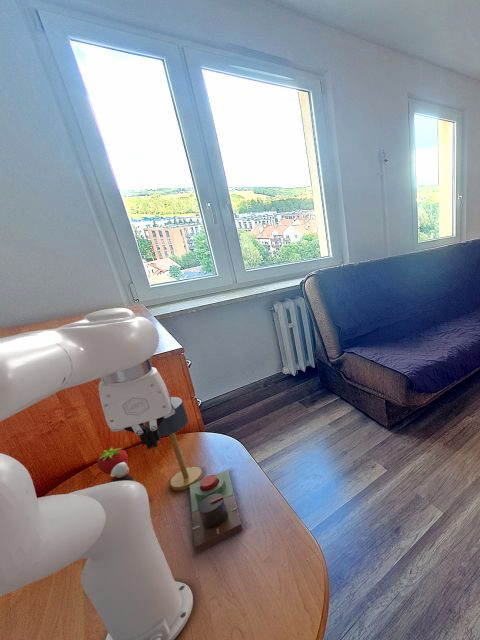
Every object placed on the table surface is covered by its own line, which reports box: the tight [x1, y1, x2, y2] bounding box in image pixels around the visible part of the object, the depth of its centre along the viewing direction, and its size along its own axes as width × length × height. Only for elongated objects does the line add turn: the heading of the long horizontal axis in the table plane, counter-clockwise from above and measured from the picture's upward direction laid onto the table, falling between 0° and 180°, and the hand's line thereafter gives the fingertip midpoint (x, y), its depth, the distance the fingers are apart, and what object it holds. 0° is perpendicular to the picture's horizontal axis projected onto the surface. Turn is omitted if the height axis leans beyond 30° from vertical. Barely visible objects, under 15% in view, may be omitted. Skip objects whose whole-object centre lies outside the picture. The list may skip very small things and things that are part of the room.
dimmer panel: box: [190, 494, 244, 554], centre depth 78 cm, size 10×9×2 cm
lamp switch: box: [200, 474, 218, 491], centre depth 85 cm, size 4×4×2 cm
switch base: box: [189, 469, 236, 514], centre depth 86 cm, size 10×9×3 cm
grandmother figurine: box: [109, 462, 135, 482], centre depth 81 cm, size 8×4×13 cm, turn 84°
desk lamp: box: [144, 396, 203, 491], centre depth 86 cm, size 8×8×24 cm
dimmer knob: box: [198, 494, 228, 528], centre depth 77 cm, size 5×5×5 cm
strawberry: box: [96, 445, 129, 476], centre depth 90 cm, size 6×8×10 cm
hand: (153, 444), depth 72 cm, fingers closed
